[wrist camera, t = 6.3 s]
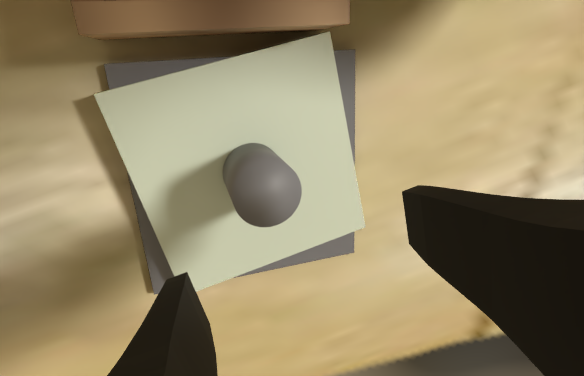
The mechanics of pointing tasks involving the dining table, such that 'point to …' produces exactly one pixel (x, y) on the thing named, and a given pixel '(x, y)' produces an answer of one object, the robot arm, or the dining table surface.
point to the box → (204, 17)
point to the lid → (240, 158)
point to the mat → (154, 254)
